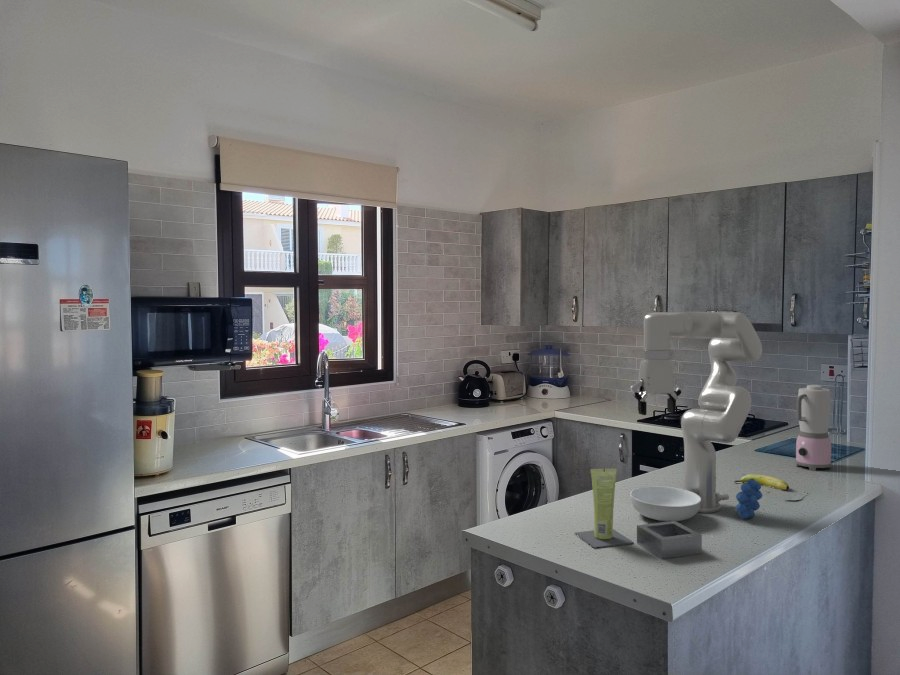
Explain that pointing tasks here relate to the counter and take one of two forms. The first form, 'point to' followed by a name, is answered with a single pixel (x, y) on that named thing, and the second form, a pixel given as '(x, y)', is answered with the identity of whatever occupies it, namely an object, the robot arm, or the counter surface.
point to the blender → (813, 427)
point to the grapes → (748, 499)
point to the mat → (595, 542)
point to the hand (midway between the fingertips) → (657, 413)
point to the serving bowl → (665, 503)
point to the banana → (766, 481)
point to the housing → (669, 539)
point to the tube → (603, 501)
